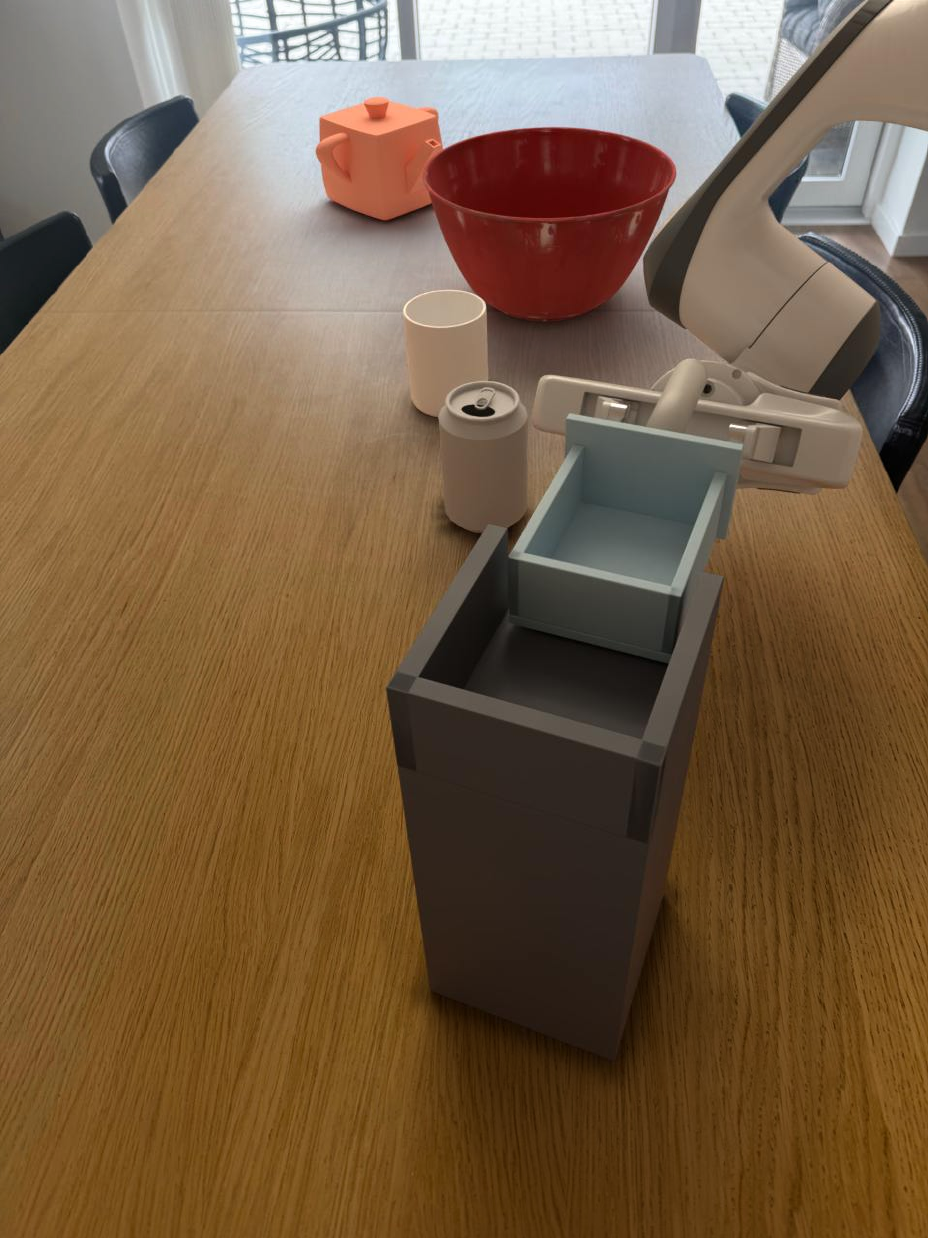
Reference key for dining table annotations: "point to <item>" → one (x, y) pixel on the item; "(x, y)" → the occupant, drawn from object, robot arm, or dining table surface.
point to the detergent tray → (626, 527)
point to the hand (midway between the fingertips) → (673, 429)
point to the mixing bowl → (548, 215)
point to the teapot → (378, 156)
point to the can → (484, 455)
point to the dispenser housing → (541, 802)
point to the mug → (444, 345)
